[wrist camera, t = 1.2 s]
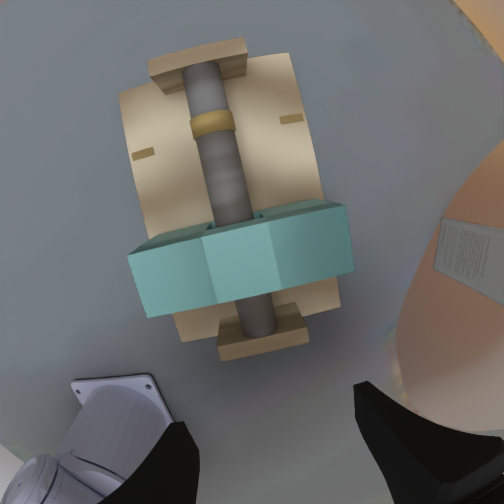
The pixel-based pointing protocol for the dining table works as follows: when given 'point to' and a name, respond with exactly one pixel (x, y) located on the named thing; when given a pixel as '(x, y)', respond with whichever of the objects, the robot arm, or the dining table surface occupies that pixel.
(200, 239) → the collar
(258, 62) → the pipe jig
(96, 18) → the dining table surface
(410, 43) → the dining table surface
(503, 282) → the skincare box
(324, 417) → the dining table surface
